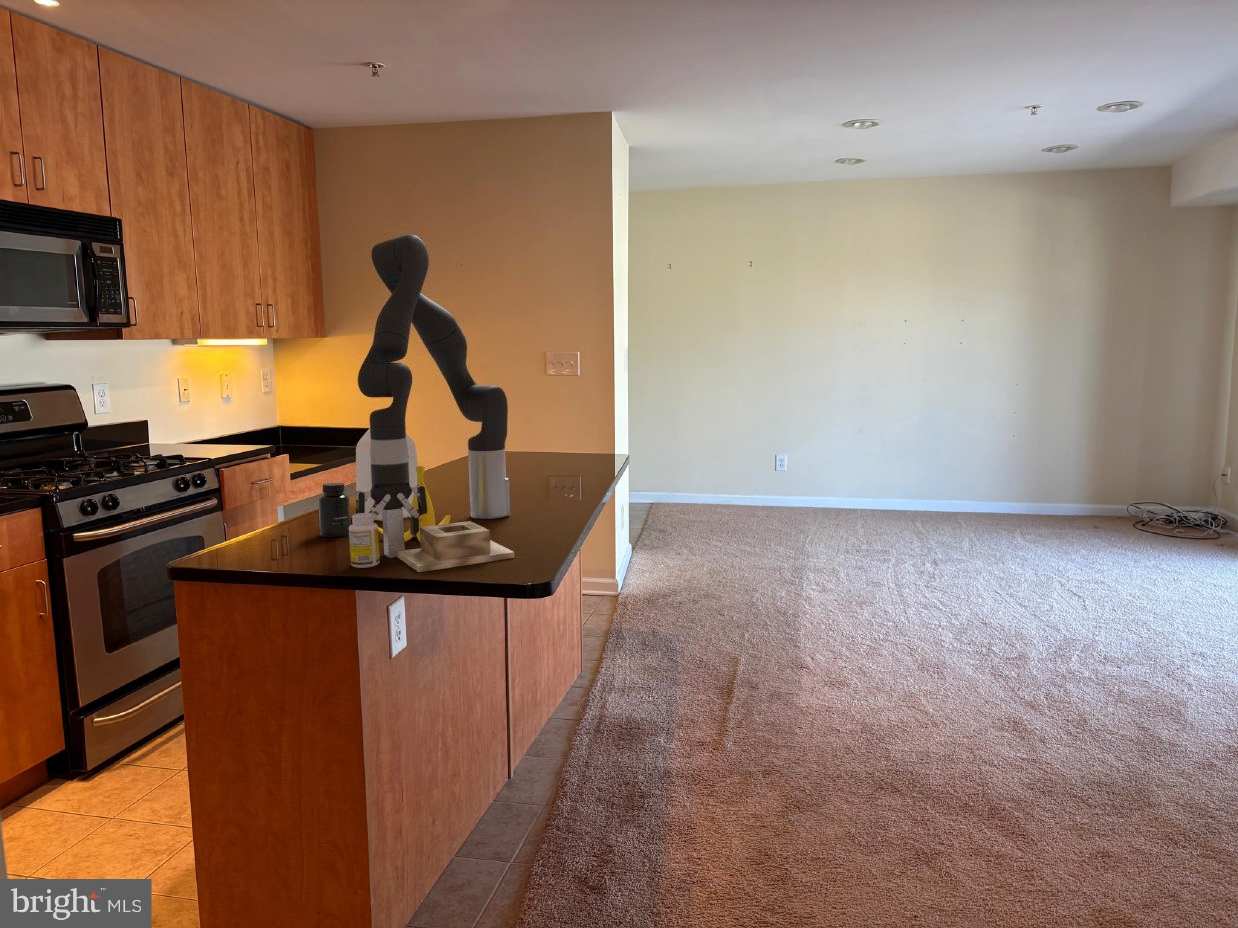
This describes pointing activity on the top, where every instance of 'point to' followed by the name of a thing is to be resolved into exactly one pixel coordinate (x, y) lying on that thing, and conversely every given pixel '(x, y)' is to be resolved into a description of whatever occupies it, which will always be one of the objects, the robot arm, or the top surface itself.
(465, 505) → the top surface
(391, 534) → the gray rectangular block
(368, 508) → the milk
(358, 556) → the supplement bottle
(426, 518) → the banana peel
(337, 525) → the supplement bottle
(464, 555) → the stone box on board
